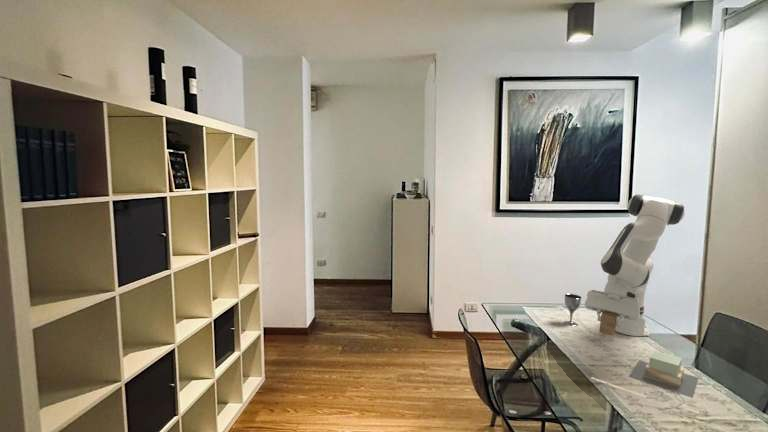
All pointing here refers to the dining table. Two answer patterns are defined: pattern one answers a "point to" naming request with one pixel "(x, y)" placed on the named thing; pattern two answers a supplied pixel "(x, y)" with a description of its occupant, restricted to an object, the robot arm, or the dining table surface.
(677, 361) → the tower top
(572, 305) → the wine glass
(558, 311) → the dining table surface
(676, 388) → the mat
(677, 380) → the tower base
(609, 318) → the walnut block
